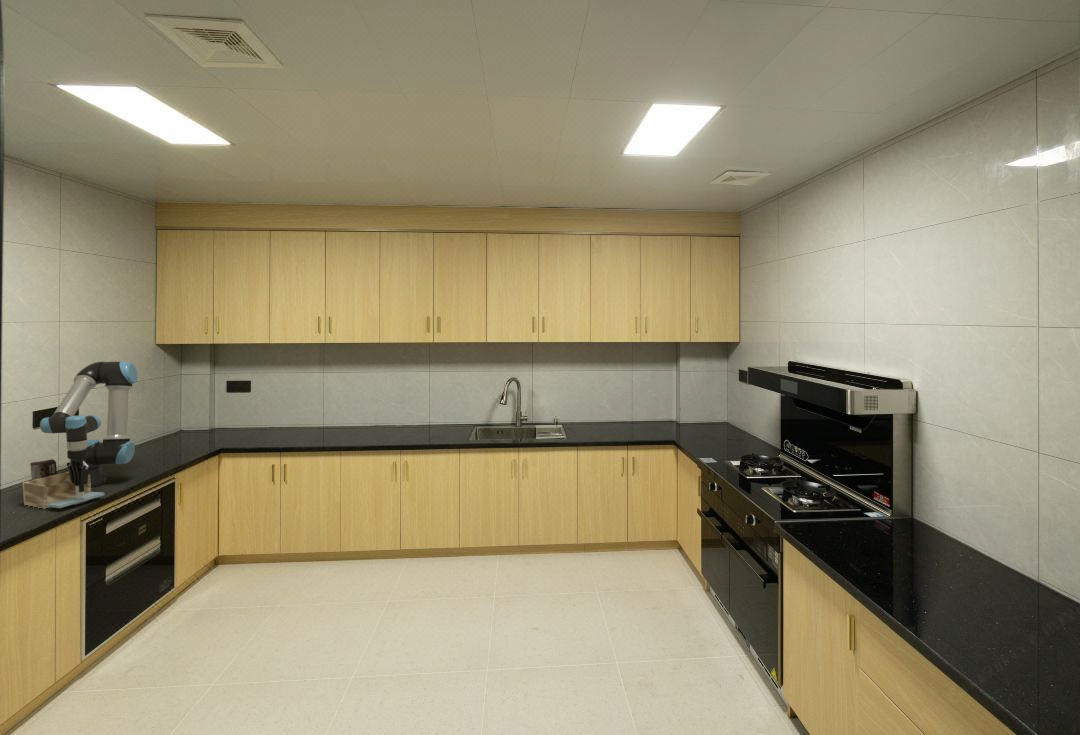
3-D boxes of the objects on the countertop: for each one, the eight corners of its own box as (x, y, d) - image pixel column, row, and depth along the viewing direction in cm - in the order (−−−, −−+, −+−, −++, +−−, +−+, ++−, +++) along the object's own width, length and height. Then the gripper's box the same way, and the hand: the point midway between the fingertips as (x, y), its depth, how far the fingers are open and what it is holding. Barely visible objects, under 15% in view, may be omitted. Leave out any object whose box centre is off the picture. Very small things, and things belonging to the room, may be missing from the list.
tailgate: (91, 491, 281) (104, 492, 278) (92, 495, 281) (104, 496, 278) (46, 504, 263) (58, 505, 260) (46, 508, 263) (59, 509, 260)
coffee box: (55, 489, 291) (53, 458, 289) (59, 492, 287) (56, 461, 285) (32, 494, 284) (29, 462, 282) (35, 497, 280) (32, 464, 278)
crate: (71, 492, 287) (69, 471, 286) (91, 496, 282) (90, 474, 281) (24, 505, 268) (22, 482, 267) (44, 509, 263) (43, 486, 262)
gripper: (59, 449, 265) (62, 498, 268) (77, 452, 261) (80, 502, 264) (77, 446, 272) (79, 494, 275) (95, 448, 268) (98, 497, 271)
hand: (80, 498), depth 269 cm, fingers closed
